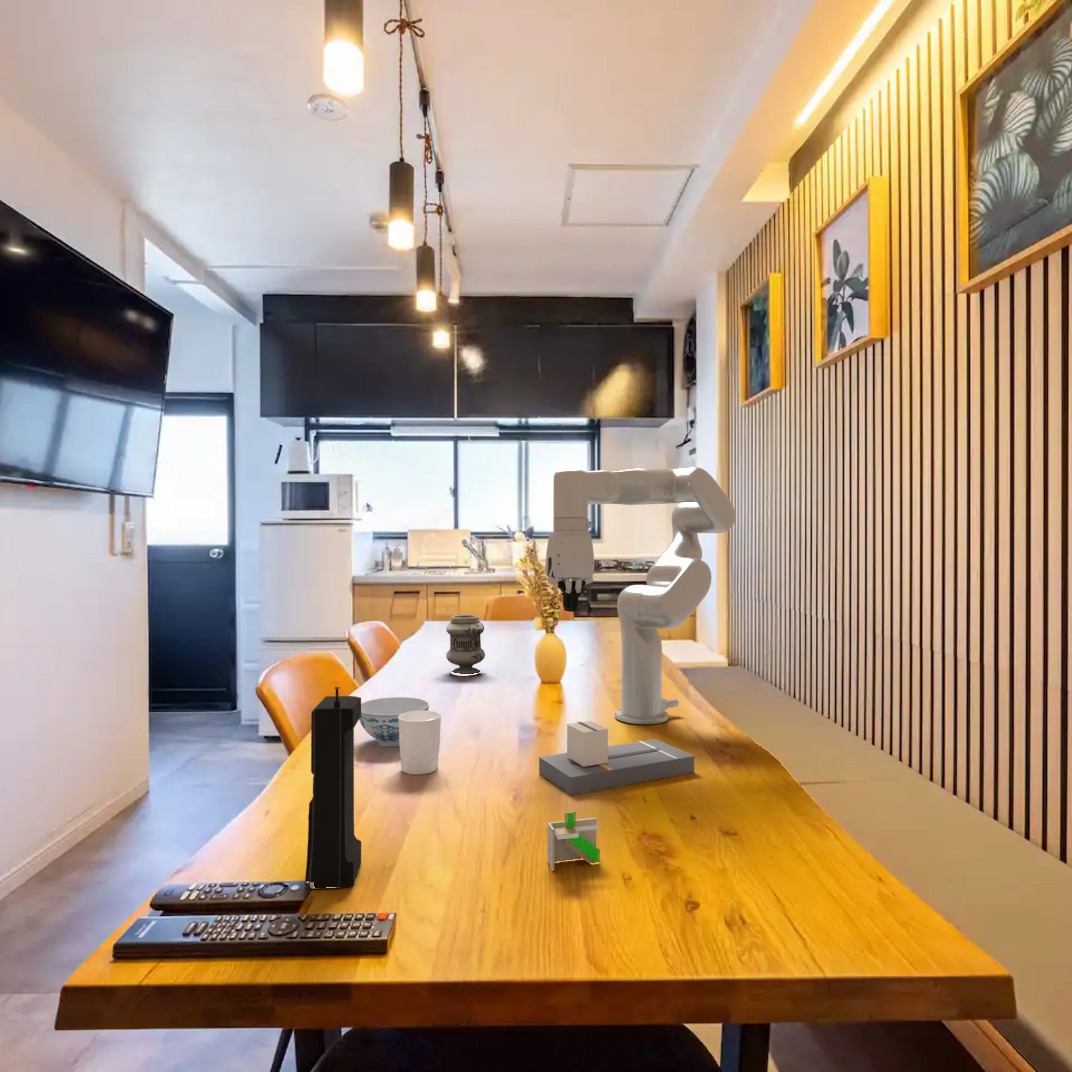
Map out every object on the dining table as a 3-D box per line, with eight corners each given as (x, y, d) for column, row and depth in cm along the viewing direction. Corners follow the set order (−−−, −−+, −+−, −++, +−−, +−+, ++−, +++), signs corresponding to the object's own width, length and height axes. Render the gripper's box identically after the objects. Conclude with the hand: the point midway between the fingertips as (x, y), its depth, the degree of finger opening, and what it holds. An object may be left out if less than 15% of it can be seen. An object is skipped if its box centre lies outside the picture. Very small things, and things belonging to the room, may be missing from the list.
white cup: (448, 764, 136) (448, 712, 136) (428, 778, 129) (428, 722, 129) (411, 760, 139) (411, 708, 139) (390, 773, 132) (390, 719, 132)
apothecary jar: (451, 669, 230) (451, 613, 230) (488, 670, 228) (488, 613, 228) (441, 676, 218) (441, 617, 218) (480, 678, 216) (480, 618, 216)
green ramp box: (605, 874, 94) (606, 813, 94) (555, 880, 92) (556, 819, 92) (595, 860, 98) (595, 802, 98) (547, 866, 96) (547, 807, 96)
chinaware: (442, 737, 155) (442, 701, 155) (401, 756, 141) (401, 717, 141) (385, 728, 161) (385, 694, 161) (341, 747, 147) (341, 709, 147)
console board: (655, 754, 143) (655, 738, 143) (694, 772, 132) (694, 755, 132) (539, 773, 132) (539, 756, 132) (570, 795, 121) (570, 776, 121)
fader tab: (590, 753, 133) (590, 720, 133) (607, 762, 127) (608, 728, 127) (566, 756, 131) (566, 723, 131) (583, 766, 125) (583, 732, 125)
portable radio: (317, 861, 97) (317, 676, 96) (362, 859, 97) (362, 675, 97) (303, 890, 89) (303, 689, 89) (353, 888, 89) (352, 688, 89)
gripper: (591, 526, 162) (591, 607, 163) (532, 526, 156) (532, 611, 156) (609, 526, 156) (609, 611, 156) (547, 526, 149) (547, 614, 149)
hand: (570, 610), depth 156 cm, fingers closed
